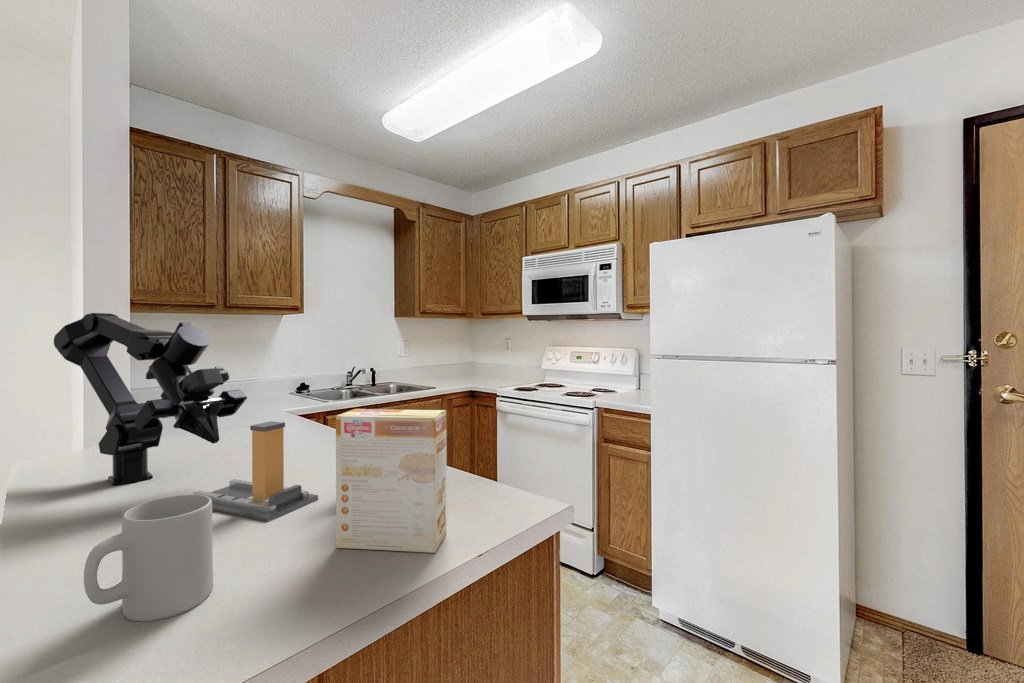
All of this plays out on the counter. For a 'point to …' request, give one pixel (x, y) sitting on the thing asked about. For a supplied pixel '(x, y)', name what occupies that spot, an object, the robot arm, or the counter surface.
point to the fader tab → (267, 460)
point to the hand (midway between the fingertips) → (216, 441)
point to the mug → (158, 558)
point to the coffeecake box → (391, 479)
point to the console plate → (238, 504)
